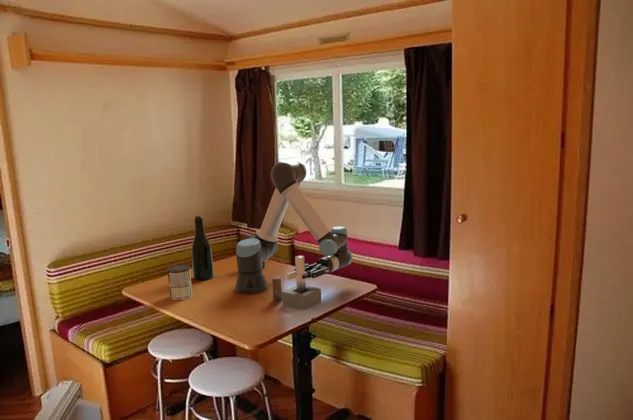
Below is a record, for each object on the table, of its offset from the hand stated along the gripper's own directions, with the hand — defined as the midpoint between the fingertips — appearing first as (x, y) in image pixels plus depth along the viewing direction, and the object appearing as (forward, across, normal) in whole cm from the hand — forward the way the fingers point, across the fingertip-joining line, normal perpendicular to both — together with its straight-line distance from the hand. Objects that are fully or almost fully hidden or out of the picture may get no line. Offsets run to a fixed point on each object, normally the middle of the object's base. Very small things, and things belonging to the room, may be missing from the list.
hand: (292, 277), depth 212 cm
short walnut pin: (-2, +12, -13) cm, 18 cm away
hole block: (-5, 0, -13) cm, 14 cm away
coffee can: (+20, +54, -13) cm, 59 cm away
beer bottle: (-4, +69, -13) cm, 70 cm away
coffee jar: (-32, +59, -13) cm, 69 cm away
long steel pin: (-5, 0, -12) cm, 13 cm away
